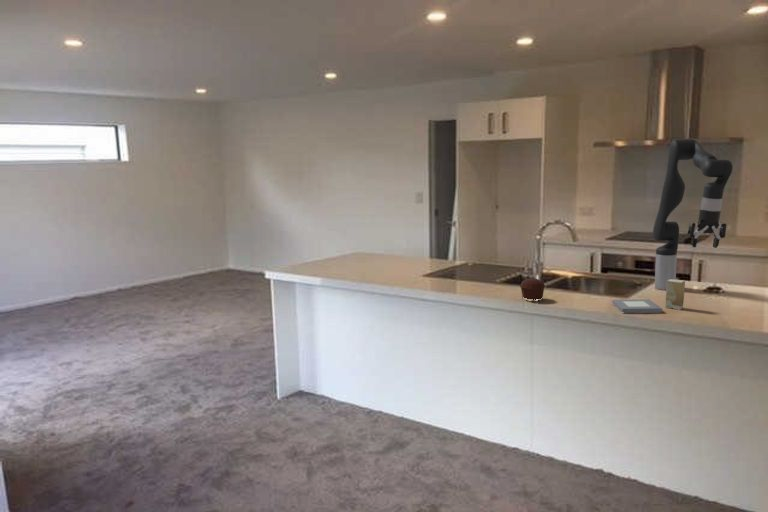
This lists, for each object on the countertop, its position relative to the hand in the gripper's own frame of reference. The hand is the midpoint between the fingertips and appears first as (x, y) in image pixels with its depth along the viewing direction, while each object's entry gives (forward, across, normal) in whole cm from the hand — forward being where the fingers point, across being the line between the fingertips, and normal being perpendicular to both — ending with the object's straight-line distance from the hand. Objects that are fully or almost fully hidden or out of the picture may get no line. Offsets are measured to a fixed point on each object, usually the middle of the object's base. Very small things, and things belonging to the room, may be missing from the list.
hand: (704, 247), depth 242 cm
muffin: (+34, +63, -26) cm, 76 cm away
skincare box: (+28, +6, -3) cm, 29 cm away
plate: (+29, +22, -5) cm, 37 cm away
